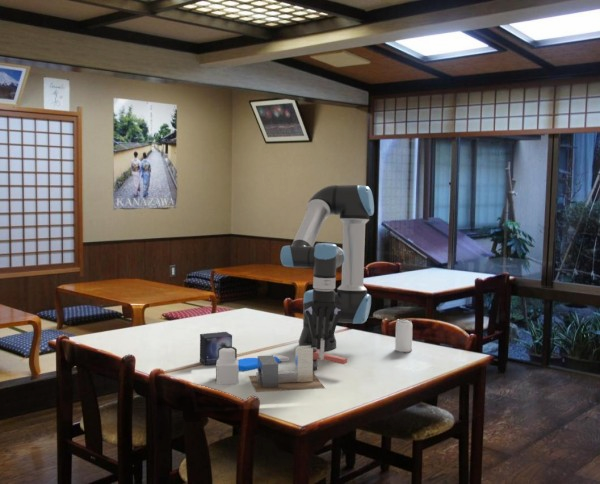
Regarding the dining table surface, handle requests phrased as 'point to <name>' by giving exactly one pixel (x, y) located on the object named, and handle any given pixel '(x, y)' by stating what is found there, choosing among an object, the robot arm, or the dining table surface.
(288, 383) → the walnut board
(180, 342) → the dining table surface
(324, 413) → the dining table surface
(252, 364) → the spray bottle
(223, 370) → the medicine bottle
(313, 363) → the post
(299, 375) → the l-shaped bracket
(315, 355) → the red t-shaped bar
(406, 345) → the can
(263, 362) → the grey block
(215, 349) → the small box
